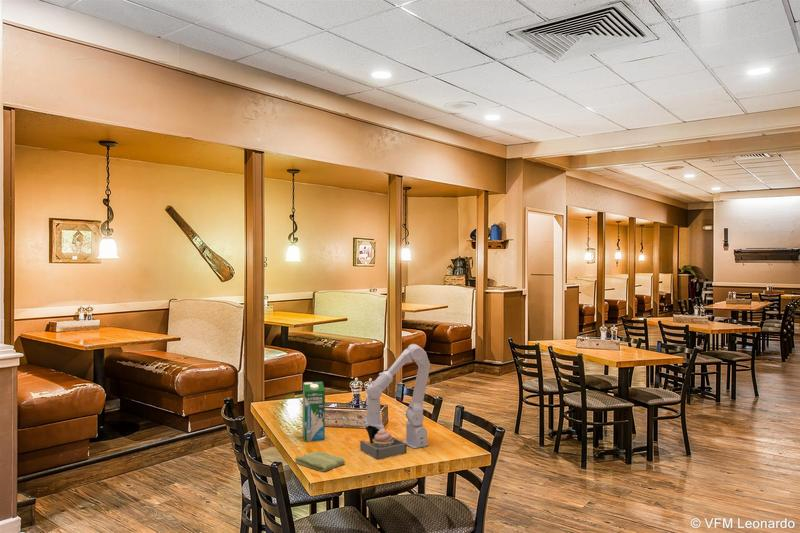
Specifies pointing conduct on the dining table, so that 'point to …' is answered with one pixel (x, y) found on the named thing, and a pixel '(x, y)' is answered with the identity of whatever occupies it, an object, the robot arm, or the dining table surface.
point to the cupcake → (382, 439)
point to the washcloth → (320, 461)
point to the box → (384, 449)
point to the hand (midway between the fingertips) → (373, 443)
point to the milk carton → (313, 411)
